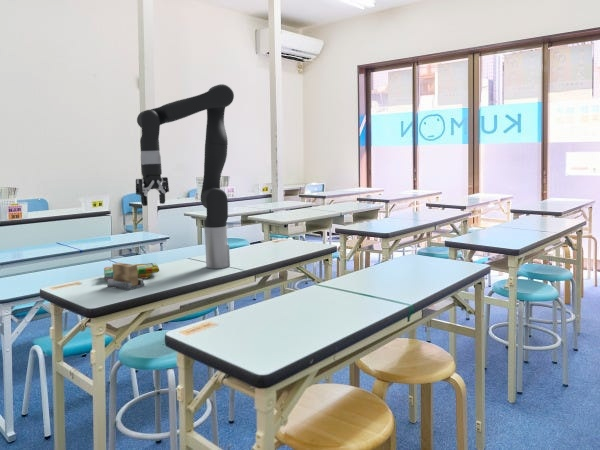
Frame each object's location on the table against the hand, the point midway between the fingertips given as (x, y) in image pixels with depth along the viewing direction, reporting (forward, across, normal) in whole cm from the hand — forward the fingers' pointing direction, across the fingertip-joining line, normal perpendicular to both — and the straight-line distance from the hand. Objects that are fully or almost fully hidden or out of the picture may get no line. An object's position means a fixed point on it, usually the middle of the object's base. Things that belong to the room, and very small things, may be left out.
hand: (153, 204), depth 199 cm
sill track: (+28, +18, +4) cm, 34 cm away
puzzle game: (+29, +7, -7) cm, 30 cm away
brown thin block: (+27, +18, +4) cm, 33 cm away
